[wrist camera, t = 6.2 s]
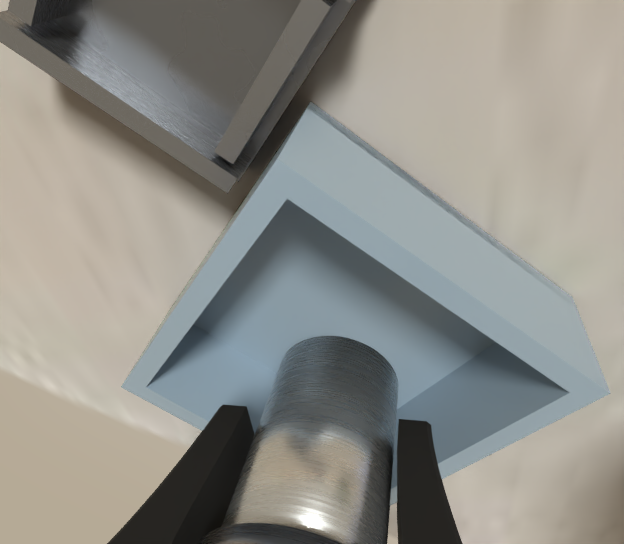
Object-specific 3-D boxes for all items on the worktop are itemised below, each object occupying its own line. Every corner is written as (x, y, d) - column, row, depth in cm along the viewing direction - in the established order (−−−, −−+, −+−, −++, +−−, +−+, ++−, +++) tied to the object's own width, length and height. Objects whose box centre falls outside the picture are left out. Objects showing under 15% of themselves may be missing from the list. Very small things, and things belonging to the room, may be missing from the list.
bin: (572, 297, 14) (610, 393, 11) (373, 430, 19) (365, 518, 16) (310, 101, 12) (277, 158, 9) (169, 310, 17) (121, 387, 14)
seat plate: (386, -46, 10) (379, -39, 8) (246, 168, 13) (223, 203, 12) (120, -276, 9) (52, -320, 7) (42, 28, 12) (-15, 46, 10)
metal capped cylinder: (440, 377, 12) (448, 671, 7) (358, 446, 14) (320, 708, 9) (312, 301, 12) (224, 560, 7) (246, 385, 14) (144, 628, 9)
